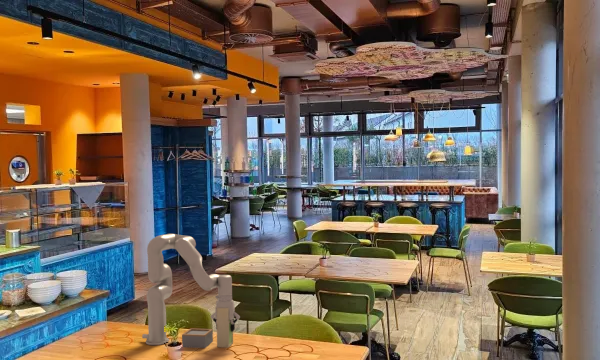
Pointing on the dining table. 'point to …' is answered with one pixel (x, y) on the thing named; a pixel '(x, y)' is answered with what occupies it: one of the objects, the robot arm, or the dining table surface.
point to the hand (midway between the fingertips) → (225, 330)
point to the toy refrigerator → (224, 328)
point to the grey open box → (197, 338)
